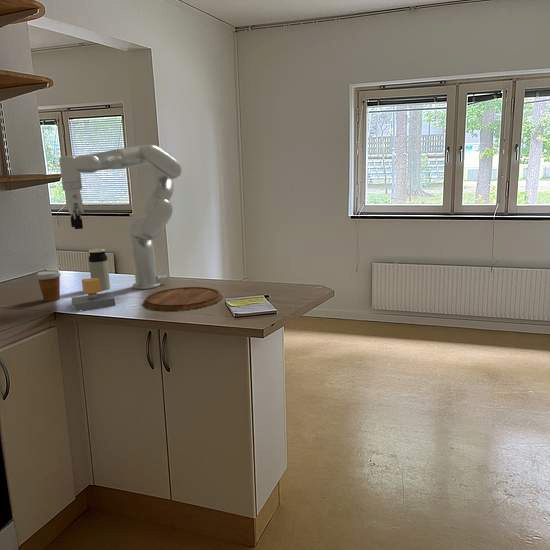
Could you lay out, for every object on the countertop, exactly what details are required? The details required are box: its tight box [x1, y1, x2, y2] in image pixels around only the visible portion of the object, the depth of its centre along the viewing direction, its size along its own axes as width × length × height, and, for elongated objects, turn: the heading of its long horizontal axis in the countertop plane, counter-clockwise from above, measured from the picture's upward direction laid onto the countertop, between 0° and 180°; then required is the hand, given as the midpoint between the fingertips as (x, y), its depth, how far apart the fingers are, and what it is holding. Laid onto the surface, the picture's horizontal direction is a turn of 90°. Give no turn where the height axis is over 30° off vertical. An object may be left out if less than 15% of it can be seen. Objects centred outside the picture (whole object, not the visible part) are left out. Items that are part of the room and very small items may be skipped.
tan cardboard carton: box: [81, 277, 102, 295], centre depth 217 cm, size 6×6×5 cm
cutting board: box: [143, 286, 223, 312], centre depth 220 cm, size 32×32×2 cm
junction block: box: [71, 291, 116, 312], centre depth 217 cm, size 15×12×10 cm
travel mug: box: [88, 248, 111, 291], centre depth 245 cm, size 8×8×18 cm
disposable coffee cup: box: [36, 269, 62, 302], centre depth 229 cm, size 10×10×12 cm
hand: (77, 227), depth 225 cm, fingers open, 9 cm apart
